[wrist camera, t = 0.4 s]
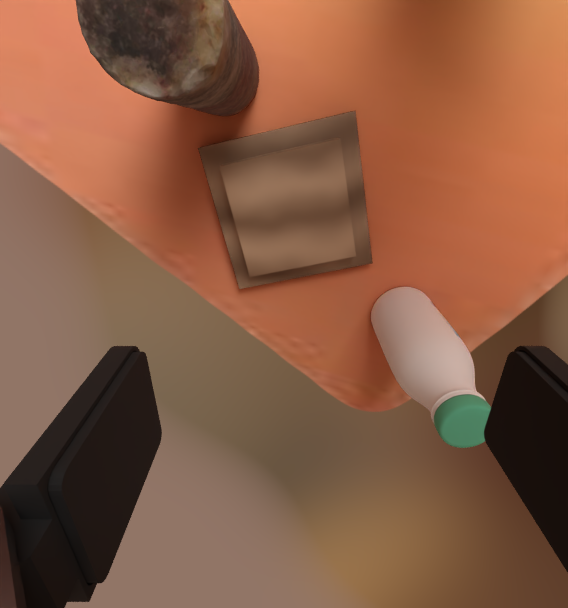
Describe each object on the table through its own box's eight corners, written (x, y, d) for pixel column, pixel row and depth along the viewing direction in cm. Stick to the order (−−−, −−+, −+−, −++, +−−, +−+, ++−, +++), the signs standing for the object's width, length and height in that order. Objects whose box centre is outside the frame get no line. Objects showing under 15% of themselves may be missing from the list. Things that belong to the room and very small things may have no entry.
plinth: (201, 147, 38) (193, 149, 35) (352, 111, 37) (359, 110, 33) (240, 284, 45) (237, 296, 42) (369, 258, 44) (376, 269, 40)
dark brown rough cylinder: (169, 42, 34) (39, -46, 16) (241, 9, 33) (185, -127, 15) (204, 127, 37) (128, 131, 19) (271, 99, 36) (255, 75, 18)
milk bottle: (359, 328, 48) (403, 450, 30) (385, 276, 45) (452, 379, 27) (412, 344, 49) (484, 472, 31) (441, 295, 46) (541, 406, 28)
